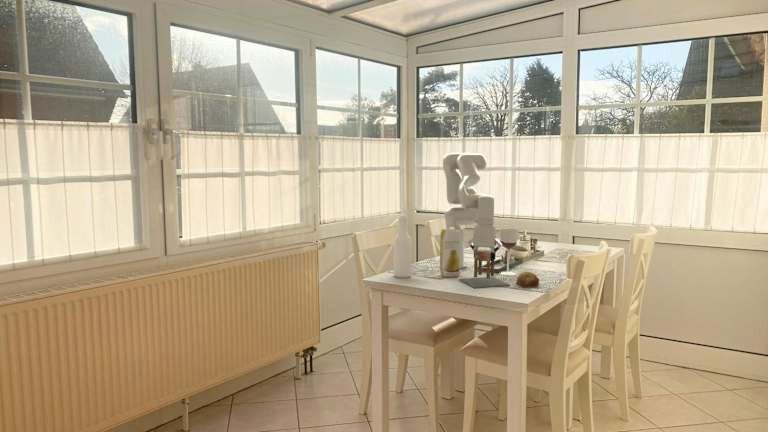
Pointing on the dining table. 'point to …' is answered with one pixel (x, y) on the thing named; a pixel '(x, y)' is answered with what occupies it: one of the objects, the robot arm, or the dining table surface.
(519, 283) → the bread roll
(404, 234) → the alcohol
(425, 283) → the dining table surface
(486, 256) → the stool
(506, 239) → the wineglass
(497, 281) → the mat
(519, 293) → the dining table surface
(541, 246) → the dining table surface
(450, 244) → the juice carton
